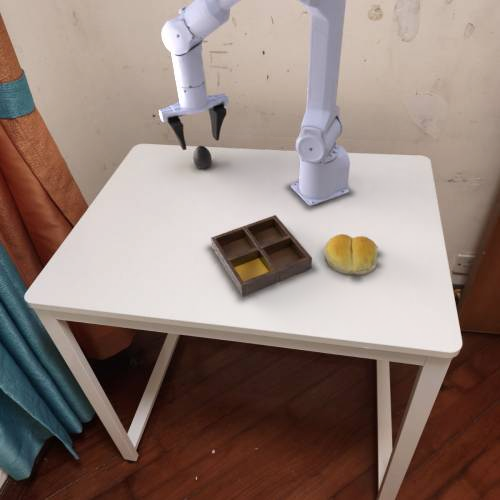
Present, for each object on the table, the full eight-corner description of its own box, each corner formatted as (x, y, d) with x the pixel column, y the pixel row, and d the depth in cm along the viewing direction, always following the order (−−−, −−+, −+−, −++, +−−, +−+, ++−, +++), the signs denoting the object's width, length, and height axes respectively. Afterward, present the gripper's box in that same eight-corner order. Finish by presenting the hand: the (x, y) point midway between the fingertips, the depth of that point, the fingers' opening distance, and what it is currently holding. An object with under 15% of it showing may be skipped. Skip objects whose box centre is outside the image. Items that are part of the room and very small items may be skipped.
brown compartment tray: (275, 225, 85) (275, 214, 83) (311, 268, 76) (312, 257, 75) (212, 248, 81) (210, 237, 80) (242, 296, 73) (241, 285, 71)
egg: (213, 160, 103) (210, 141, 100) (211, 170, 100) (209, 150, 97) (195, 161, 103) (192, 142, 100) (193, 171, 100) (190, 151, 97)
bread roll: (326, 240, 81) (328, 223, 78) (377, 246, 79) (380, 229, 77) (320, 272, 76) (321, 255, 73) (375, 280, 74) (378, 263, 71)
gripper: (216, 67, 93) (223, 126, 102) (149, 83, 89) (162, 143, 98) (230, 79, 88) (235, 140, 98) (160, 96, 84) (172, 158, 94)
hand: (199, 143), depth 98 cm, fingers open, 7 cm apart
